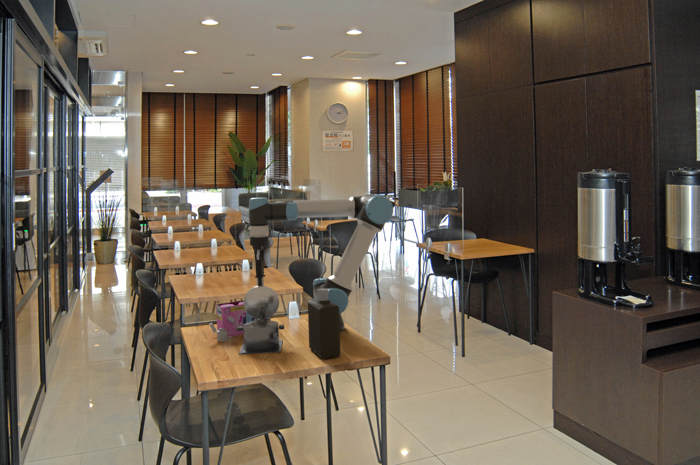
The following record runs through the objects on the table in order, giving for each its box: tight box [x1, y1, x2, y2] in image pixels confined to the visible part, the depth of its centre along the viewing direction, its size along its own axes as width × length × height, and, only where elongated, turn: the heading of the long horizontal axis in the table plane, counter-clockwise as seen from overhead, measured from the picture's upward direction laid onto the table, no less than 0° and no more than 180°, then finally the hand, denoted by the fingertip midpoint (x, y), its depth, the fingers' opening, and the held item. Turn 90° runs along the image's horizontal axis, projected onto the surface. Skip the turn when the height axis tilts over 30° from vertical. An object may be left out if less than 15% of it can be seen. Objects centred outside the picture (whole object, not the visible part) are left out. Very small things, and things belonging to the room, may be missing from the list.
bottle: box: [307, 288, 341, 361], centre depth 213 cm, size 8×16×25 cm, turn 22°
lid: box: [243, 285, 280, 320], centre depth 228 cm, size 14×15×3 cm
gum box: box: [215, 299, 272, 338], centre depth 246 cm, size 24×8×14 cm, turn 123°
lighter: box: [208, 322, 228, 342], centre depth 233 cm, size 7×2×8 cm, turn 104°
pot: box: [237, 318, 285, 355], centre depth 224 cm, size 19×18×9 cm
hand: (260, 292), depth 227 cm, fingers closed
